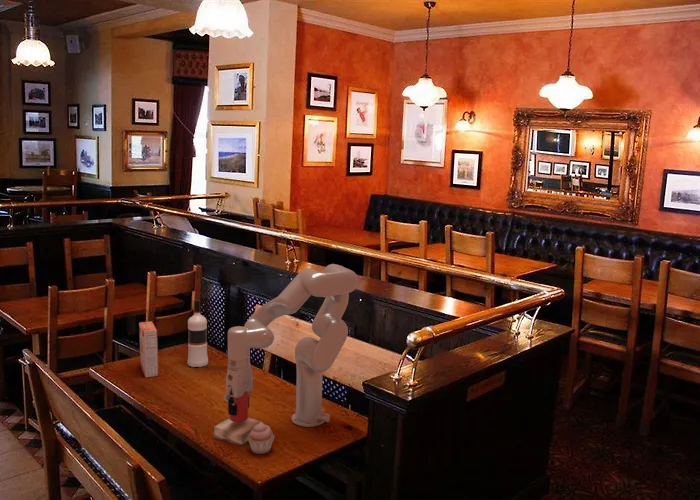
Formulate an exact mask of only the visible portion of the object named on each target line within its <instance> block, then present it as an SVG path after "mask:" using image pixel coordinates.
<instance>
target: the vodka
mask: <svg viewBox="0 0 700 500" xmlns="http://www.w3.org/2000/svg"><path fill="white" fill-rule="evenodd" d="M193 304H194V306H193V307H194V310H193V311H194V312H193V313H194V314H193V315H192V316H190V317H189V318H188V320H187V329H188V331H187V333H188V335H187V336H188V337H187V338H188V341H187V342H188V343H187V345H188V354H187V360H186V361H187V366H189V367H190V366H191V368H194V367H199V368H203V366H204V367H206V366H207V365H208V364H209V357H208V350H207V349H208V342H207V337H208V336H207V329H208V326H207V324H208V319H207V318H206V317H205V316H204V315H202V314H201V300H199V299H195V300H194V301H193Z"/></svg>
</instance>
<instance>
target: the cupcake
mask: <svg viewBox="0 0 700 500" xmlns="http://www.w3.org/2000/svg"><path fill="white" fill-rule="evenodd" d="M247 439H248V440H249V442H248V443H249V446H250V449H251V452H252V453H253V454H257V455H264V454H268V453H269V452H270V451H271V448H272V445H273V442H274V439H275V435H274V433H273V431H272V429H271V427H270V426H269V425H267V424H265V423H263V421H262V422H260V423H259V424H257V425H255V426H254V427H253V429H252V430H251V432H250V434H249V436H248V437H247Z"/></svg>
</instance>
